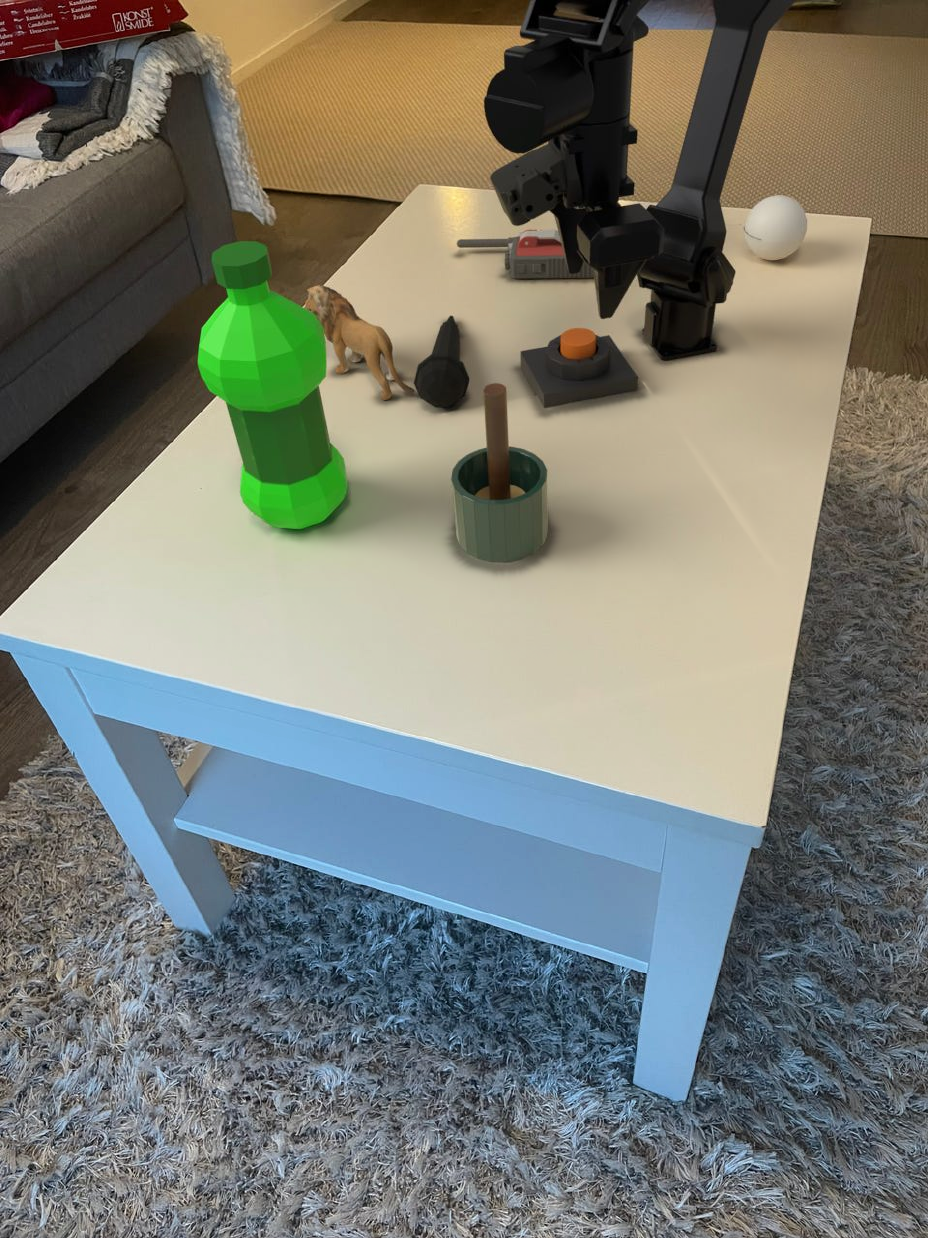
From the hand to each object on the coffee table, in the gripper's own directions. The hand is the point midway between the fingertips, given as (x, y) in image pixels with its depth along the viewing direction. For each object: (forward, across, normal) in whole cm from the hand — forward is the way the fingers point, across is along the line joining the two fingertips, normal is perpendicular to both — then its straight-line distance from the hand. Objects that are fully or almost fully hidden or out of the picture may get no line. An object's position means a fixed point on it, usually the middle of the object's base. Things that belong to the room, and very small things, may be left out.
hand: (589, 294), depth 89 cm
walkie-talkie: (+13, -34, +4) cm, 37 cm away
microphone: (+13, -13, -11) cm, 22 cm away
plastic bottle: (+13, +7, -30) cm, 33 cm away
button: (+9, -6, +1) cm, 11 cm away
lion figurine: (+13, -15, -21) cm, 29 cm away
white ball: (+13, -26, +31) cm, 43 cm away
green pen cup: (+13, +16, -13) cm, 24 cm away
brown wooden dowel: (+12, +16, -13) cm, 24 cm away
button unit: (+13, -6, +1) cm, 14 cm away
